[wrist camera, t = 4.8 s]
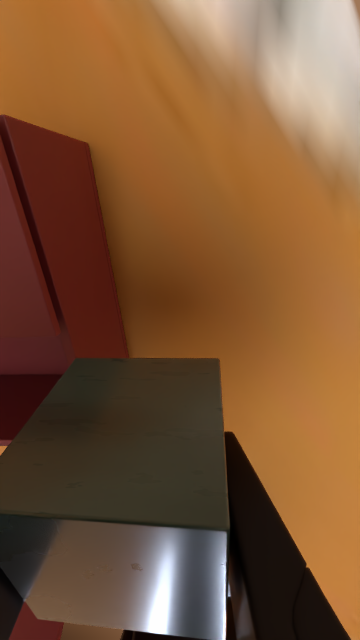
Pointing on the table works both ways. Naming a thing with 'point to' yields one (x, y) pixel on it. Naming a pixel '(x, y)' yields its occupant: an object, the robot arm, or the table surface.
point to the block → (122, 499)
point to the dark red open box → (49, 268)
